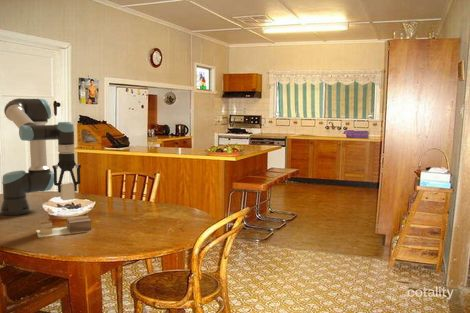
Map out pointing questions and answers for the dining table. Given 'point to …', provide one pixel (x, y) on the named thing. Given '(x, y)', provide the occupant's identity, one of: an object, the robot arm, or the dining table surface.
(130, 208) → the dining table surface
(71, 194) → the white block
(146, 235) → the dining table surface
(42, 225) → the oak cube
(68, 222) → the plinth
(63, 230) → the build board
